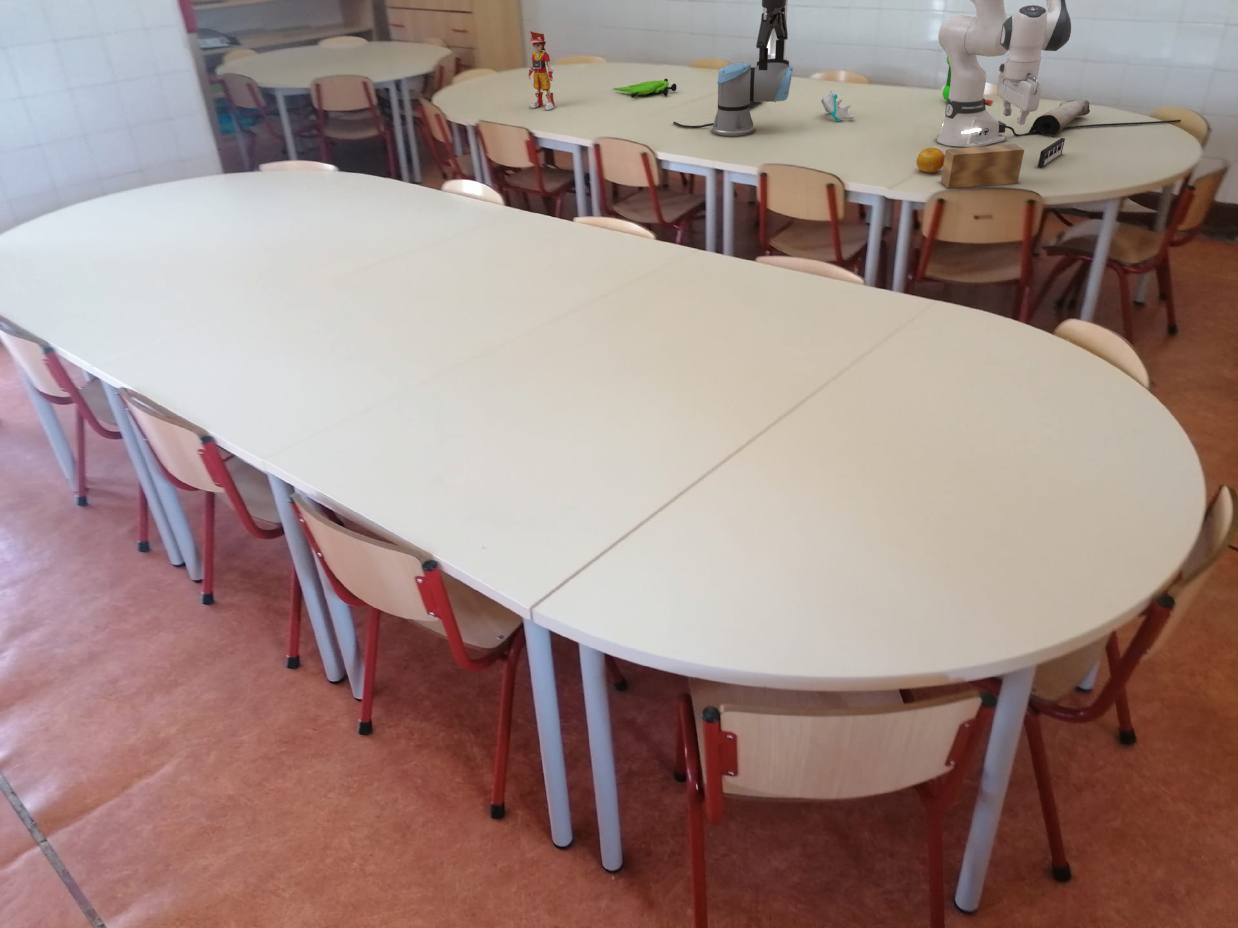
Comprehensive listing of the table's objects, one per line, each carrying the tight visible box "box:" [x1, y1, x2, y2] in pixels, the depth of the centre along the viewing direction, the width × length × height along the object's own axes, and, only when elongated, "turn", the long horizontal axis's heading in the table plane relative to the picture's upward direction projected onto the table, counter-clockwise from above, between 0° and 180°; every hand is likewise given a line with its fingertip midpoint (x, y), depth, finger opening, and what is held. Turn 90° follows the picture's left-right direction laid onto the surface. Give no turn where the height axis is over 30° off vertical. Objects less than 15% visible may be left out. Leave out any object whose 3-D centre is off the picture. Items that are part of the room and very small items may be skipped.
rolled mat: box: [1028, 99, 1091, 137], centre depth 319 cm, size 30×9×10 cm
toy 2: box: [612, 78, 677, 99], centre depth 396 cm, size 28×5×30 cm
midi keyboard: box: [1037, 137, 1066, 168], centre depth 287 cm, size 18×1×5 cm, turn 138°
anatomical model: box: [820, 90, 855, 122], centre depth 343 cm, size 15×10×10 cm
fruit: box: [916, 147, 945, 174], centre depth 284 cm, size 8×8×8 cm
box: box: [940, 143, 1025, 189], centre depth 272 cm, size 22×6×10 cm, turn 94°
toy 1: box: [527, 31, 556, 111], centre depth 374 cm, size 12×9×30 cm
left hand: (771, 66), depth 293 cm, fingers open, 13 cm apart
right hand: (1013, 119), depth 265 cm, fingers open, 8 cm apart
